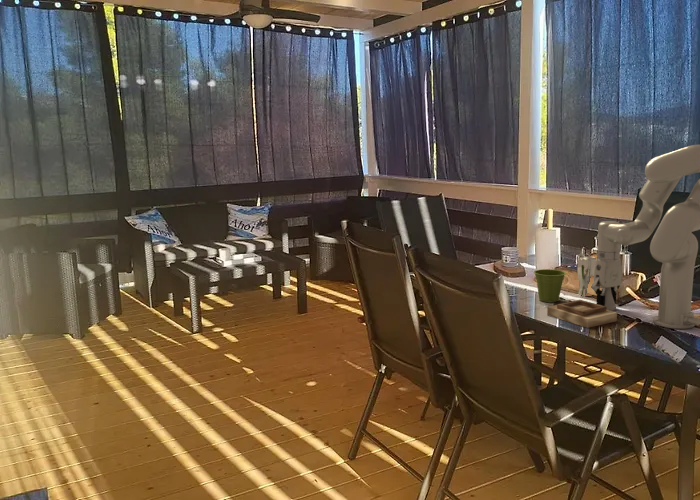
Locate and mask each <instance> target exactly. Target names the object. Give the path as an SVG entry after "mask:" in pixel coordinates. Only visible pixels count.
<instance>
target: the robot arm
mask: <svg viewBox="0 0 700 500" xmlns="http://www.w3.org/2000/svg"><path fill="white" fill-rule="evenodd" d="M696 173H697V174H698V173H700V144H692V145H688V146H684V147H682V148H678V149H676V150H674V151H670V152H667V153H664V154H660V155H657V156H655V157H652V158H651V159H650V160H648V162H647V164H646V165H645V168H644V175H645V177H646V179H647V180H646V181H645V183H644V185H643V186H642V188H641V190H640V191H639V194H638V196H639V199H640V200H641V201H642V207H641V208H640V209H641V210H640V211H639V214H637V216H636V218H635V220H634V221H630V222H626V223H620V222H618V221H615V220H603V221H600V222H599V224H598V226H597V227H598V229H597V248H596V249H597V250H596V251H597V252H596V265H595V271H594V283H593V284H592V286H591V288H592V289H593V290H594V293H595V295H596V302H595V304H598V305H602V306H605V295H604V292H605V288H610V287H611V293H612V296H613V299H614V302H615V305H616V304H617V293H618V292H619V290H620V287H621V285H622V284H623V266H622V265H623V264H622V259H621V258H620V257H621V245H623V246H631V245H634V244H638V243H641V242H644V241H647V239H648V238H650V236H651V235H652V234H653V232H654V231H655V232H654V235H653V237H652V238H651V241H650V245H649V252H650V254H651V257H652V258H653V259H654V260H655V261H657V262H659V263H662V265H661V269H660V279H659V280H660V281H659V296H658V311H657V313H658V314H657V315H655V316H653V317H652V323H653V324H655V325H657V326H659V327H663V328H668V329H678V330H682V329H683V330H685V329H686V330H687V329H691V328H694V327H695V326H697V327H698V326H700V318H698V317H695V313H694V312H692V311H691V310H692V298H693V286H694V285H693V284H694V283H693V282H694V273H695V272H694V271H695V265H696V260H697V255H698V251H699V241H698V239H697V237H696V235H695V234H693V233H692V232H695V231H699V230H700V178H699V179H698V180H697V182H695V184H694V186H693V188H692V189H691V192H690V193H689V196H688V197H687V198H686V199H685V201H683V202H679V203H676V204H674V205H672V206H671V207H669V209H667V211H666V212H665V214H664V216H663V211H664V205H665V204H666V202H667V200H668V199H669V197H670V196H671V194H672V192H673V191H674V189H675V188H676V187H677V185H678V183H679V182H680V180H681V179H682V177H685V176H690V175H693V174H694V175H695V174H696ZM662 216H663V217H662ZM661 218H662V220H661ZM658 224H659V225H658ZM657 226H658V227H657ZM656 228H657V229H656ZM655 229H656V230H655Z"/></svg>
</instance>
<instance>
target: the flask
mask: <svg viewBox="0 0 700 500" xmlns="http://www.w3.org/2000/svg"><path fill="white" fill-rule="evenodd" d="M604 295H605V307H607V308H606V310H609V311H613V312H616V310H617V305H616V304H615V302H614V299H613V296H612V293H611V287H610V288H605V292H604Z"/></svg>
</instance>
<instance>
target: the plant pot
mask: <svg viewBox="0 0 700 500" xmlns="http://www.w3.org/2000/svg"><path fill="white" fill-rule="evenodd" d="M533 273H534V274H535V279H536V280H535V281H536V285H537V293H538V299H539V301H541V302H544V303H556V302H559V300H560V295H561V290H562V285H563V281H564V278H565V275H567V273H566V272H565V271H562V270H560V269H550V268H549V269H545V268H544V269H535V270H534V271H533Z"/></svg>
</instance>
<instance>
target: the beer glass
mask: <svg viewBox="0 0 700 500" xmlns="http://www.w3.org/2000/svg"><path fill="white" fill-rule="evenodd" d="M577 260H578V261H577V278H578V290H577V291H578V292H577V295H578V294H579V295H582V296H581V297H584V296H585V295H586V294H587V288H588V284H589V282H590V278H591V276H594V271H595V265H596V260H597V257H594V256H579V257H578V259H577ZM579 295H578V296H579Z"/></svg>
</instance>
